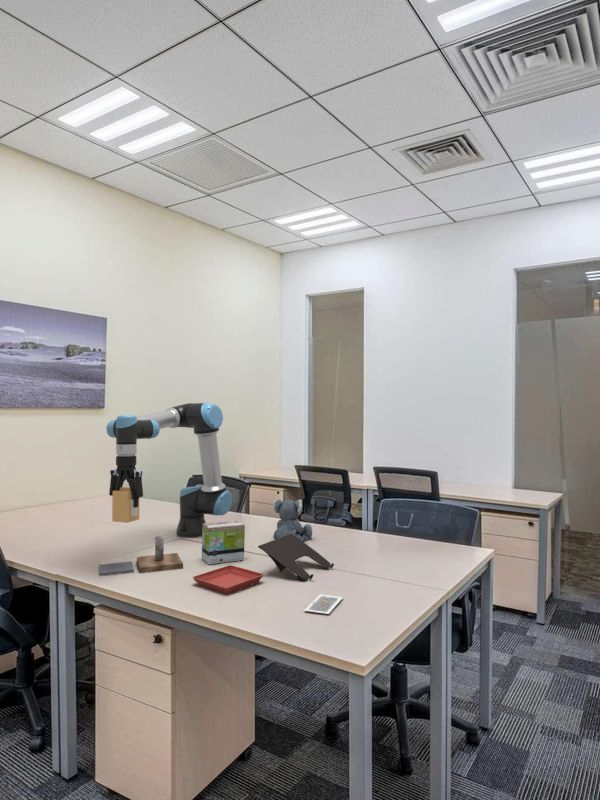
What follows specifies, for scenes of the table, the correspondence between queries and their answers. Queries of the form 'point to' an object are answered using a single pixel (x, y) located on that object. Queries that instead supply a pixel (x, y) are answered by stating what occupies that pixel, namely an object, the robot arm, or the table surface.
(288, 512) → the koala plush
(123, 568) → the pad
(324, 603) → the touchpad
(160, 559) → the wooden base with post
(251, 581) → the plant saucer
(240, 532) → the tea box
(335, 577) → the table surface
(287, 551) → the portable electronic device stand
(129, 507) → the tan tall block
